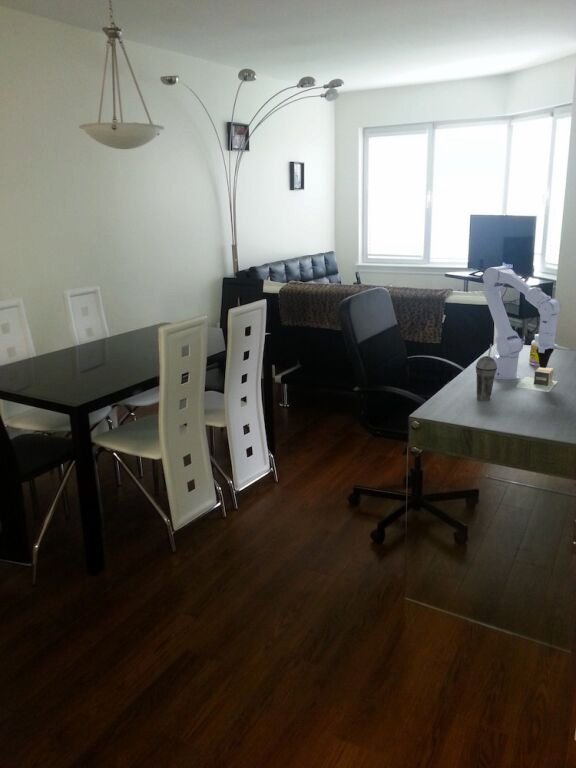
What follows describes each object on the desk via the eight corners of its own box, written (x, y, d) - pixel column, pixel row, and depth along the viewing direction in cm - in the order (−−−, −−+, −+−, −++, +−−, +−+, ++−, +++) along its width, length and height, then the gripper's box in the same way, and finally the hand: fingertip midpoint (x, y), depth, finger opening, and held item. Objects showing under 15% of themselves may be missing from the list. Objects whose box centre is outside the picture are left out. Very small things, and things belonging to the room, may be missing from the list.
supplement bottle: (526, 362, 265) (529, 333, 261) (542, 362, 265) (545, 333, 261) (532, 366, 259) (535, 336, 255) (547, 366, 259) (551, 336, 255)
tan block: (548, 373, 230) (553, 368, 237) (535, 371, 233) (539, 366, 239) (547, 386, 232) (551, 380, 238) (533, 383, 234) (538, 378, 241)
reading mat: (548, 392, 225) (548, 392, 225) (515, 387, 231) (515, 386, 231) (557, 381, 237) (557, 381, 237) (525, 377, 244) (525, 376, 244)
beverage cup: (468, 396, 221) (473, 342, 215) (485, 394, 224) (490, 341, 218) (481, 402, 215) (486, 347, 209) (498, 400, 217) (503, 345, 211)
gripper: (554, 337, 220) (550, 373, 224) (562, 329, 231) (558, 364, 235) (534, 334, 224) (530, 370, 228) (542, 327, 235) (538, 361, 239)
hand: (543, 367), depth 232 cm, fingers closed
